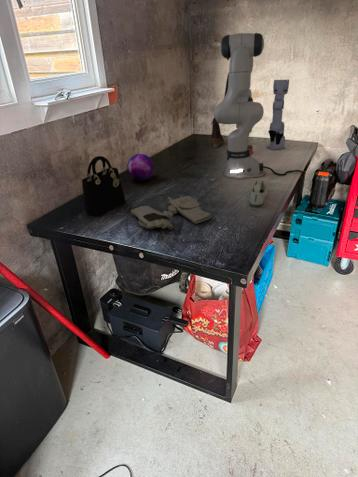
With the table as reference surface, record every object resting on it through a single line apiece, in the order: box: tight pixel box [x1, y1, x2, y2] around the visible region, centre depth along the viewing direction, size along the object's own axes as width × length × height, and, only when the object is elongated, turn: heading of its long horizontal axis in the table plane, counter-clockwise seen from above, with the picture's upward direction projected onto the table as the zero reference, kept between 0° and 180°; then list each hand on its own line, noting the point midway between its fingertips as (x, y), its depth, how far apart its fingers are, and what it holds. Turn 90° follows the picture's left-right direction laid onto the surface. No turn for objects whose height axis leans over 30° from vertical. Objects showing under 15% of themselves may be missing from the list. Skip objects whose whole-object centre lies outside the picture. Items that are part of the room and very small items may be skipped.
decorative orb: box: [126, 153, 155, 182], centre depth 186 cm, size 15×15×15 cm
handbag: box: [81, 155, 126, 217], centre depth 153 cm, size 21×9×25 cm, turn 148°
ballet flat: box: [249, 179, 269, 207], centre depth 158 cm, size 8×24×8 cm, turn 163°
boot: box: [210, 116, 225, 149], centre depth 246 cm, size 9×24×20 cm, turn 168°
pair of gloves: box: [130, 195, 212, 230], centre depth 145 cm, size 30×26×5 cm
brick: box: [247, 144, 254, 152], centre depth 227 cm, size 5×4×4 cm
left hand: (243, 137), depth 222 cm, fingers open, 8 cm apart
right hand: (274, 142), depth 213 cm, fingers open, 7 cm apart
